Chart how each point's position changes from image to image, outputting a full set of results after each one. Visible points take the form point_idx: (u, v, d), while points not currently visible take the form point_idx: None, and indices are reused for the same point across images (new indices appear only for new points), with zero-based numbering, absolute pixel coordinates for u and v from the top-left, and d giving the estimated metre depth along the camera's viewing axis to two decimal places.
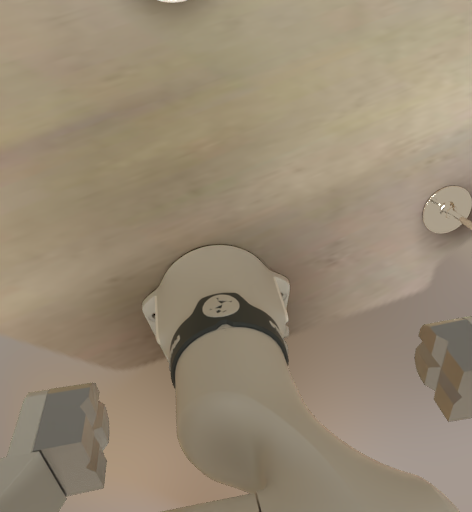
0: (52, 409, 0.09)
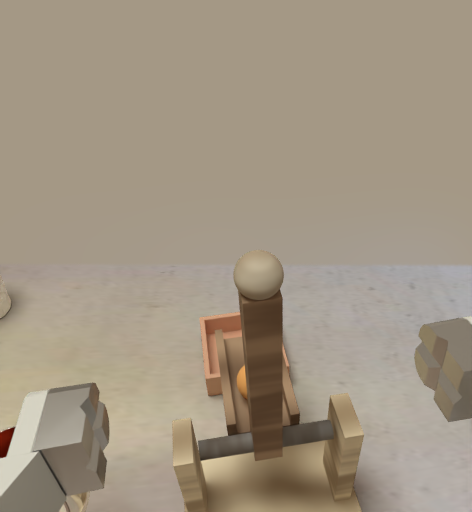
0: (52, 409, 0.09)
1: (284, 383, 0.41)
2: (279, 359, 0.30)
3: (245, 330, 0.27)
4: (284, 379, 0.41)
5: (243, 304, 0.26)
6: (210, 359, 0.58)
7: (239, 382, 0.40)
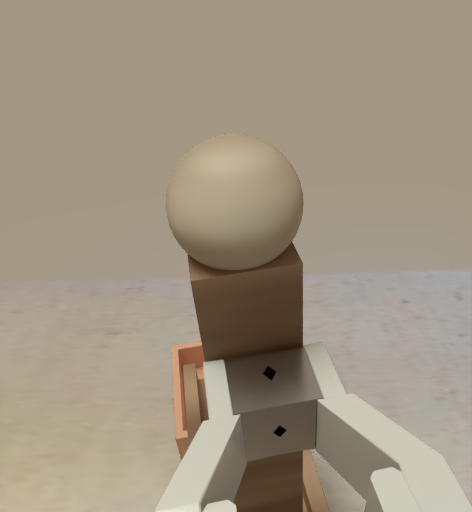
0: (236, 376, 0.10)
1: None
2: None
3: (206, 359, 0.11)
4: None
5: (193, 283, 0.09)
6: None
7: None
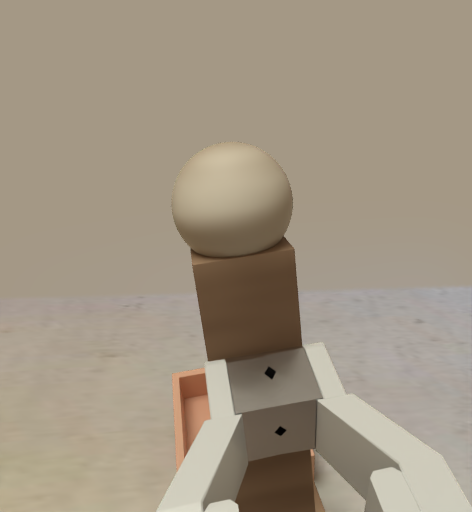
0: (238, 376, 0.10)
1: None
2: None
3: (209, 354, 0.11)
4: None
5: (195, 268, 0.10)
6: (188, 440, 0.38)
7: None
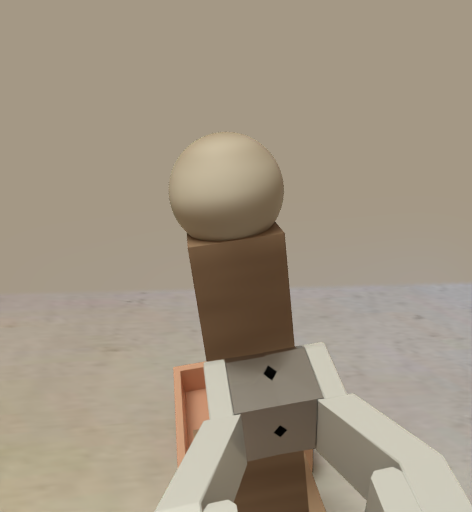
0: (236, 376, 0.10)
1: None
2: None
3: (204, 333, 0.11)
4: (314, 510, 0.22)
5: (190, 251, 0.11)
6: (189, 432, 0.38)
7: None
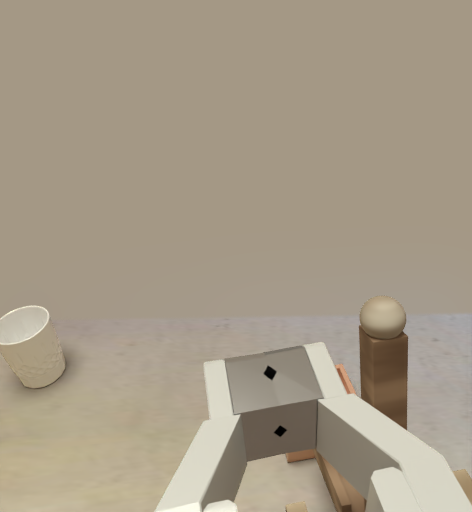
0: (237, 376, 0.10)
1: None
2: (404, 407, 0.31)
3: (374, 372, 0.30)
4: None
5: (373, 343, 0.29)
6: None
7: None
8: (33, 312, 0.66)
